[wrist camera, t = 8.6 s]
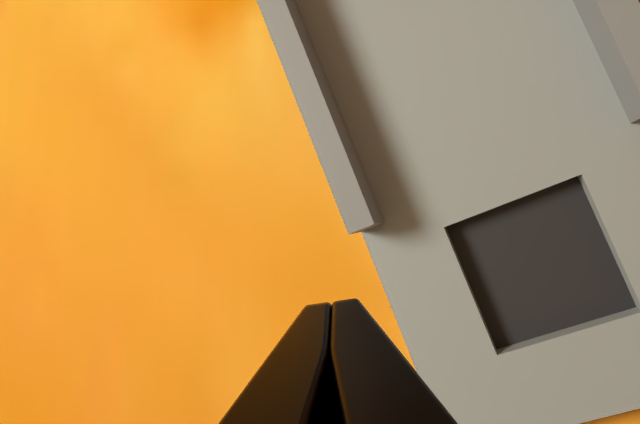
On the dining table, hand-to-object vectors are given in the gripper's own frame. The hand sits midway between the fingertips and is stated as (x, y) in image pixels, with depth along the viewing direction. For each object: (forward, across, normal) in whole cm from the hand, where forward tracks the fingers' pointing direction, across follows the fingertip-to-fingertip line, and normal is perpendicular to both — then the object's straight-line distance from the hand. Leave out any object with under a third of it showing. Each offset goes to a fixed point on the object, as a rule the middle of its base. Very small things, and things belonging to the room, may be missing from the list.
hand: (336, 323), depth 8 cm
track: (+14, -5, -2) cm, 15 cm away
